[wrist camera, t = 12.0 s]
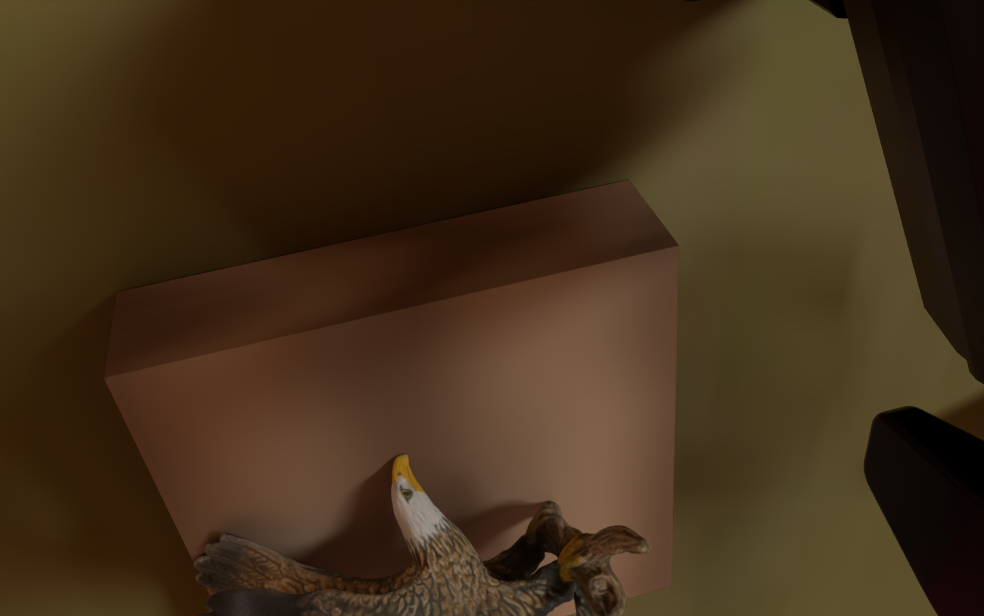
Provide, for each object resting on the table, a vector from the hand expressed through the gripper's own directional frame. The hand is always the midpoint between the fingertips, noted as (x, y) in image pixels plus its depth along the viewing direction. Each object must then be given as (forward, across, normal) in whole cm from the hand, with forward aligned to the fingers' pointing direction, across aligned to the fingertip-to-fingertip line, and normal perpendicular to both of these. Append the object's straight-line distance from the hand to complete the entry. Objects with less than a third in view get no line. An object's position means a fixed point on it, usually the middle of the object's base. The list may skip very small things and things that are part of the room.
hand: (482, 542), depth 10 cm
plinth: (+12, 0, +10) cm, 15 cm away
